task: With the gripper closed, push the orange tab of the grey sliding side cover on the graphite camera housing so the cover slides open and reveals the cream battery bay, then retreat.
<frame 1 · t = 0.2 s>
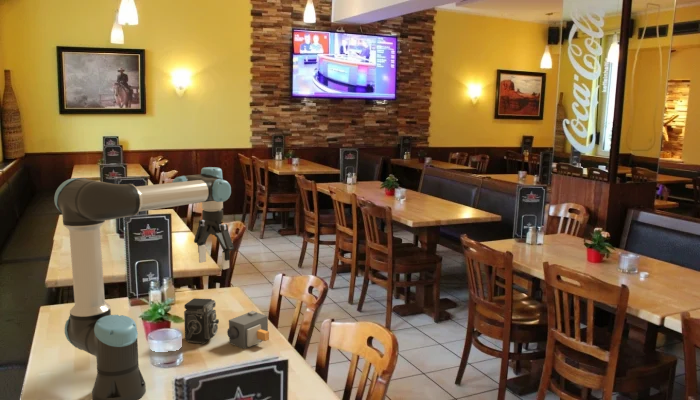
hand: (214, 265, 222), 28 cm above the table, fingers open, 13 cm apart
camera: (202, 340, 222), on the table
side door: (258, 336, 215), point 4 cm above the table, slide at 0.0 cm
housing: (248, 340, 222), on the table
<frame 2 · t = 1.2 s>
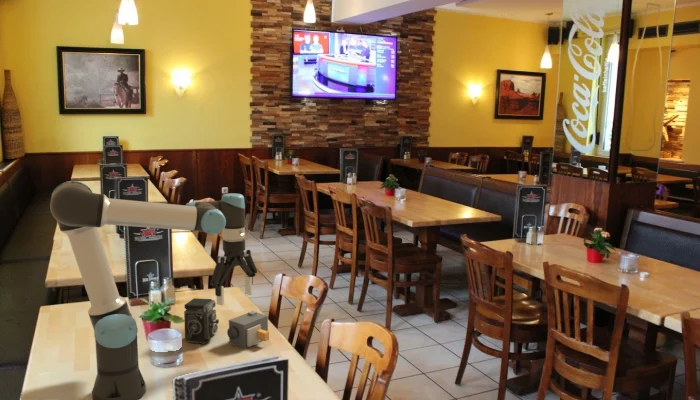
hand: (234, 299, 205), 21 cm above the table, fingers open, 13 cm apart
nothing on the table moved.
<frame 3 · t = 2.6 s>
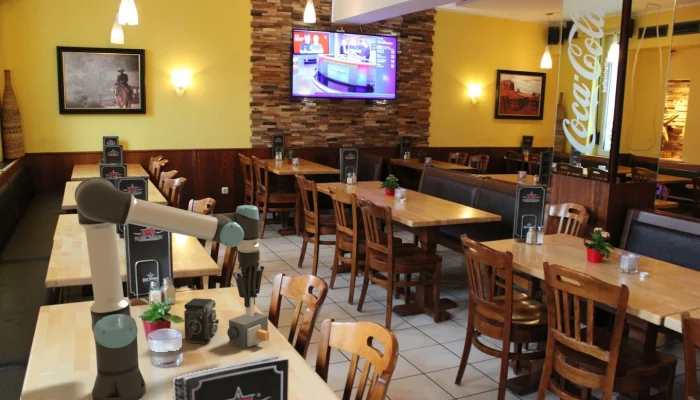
hand: (250, 315, 209), 14 cm above the table, fingers closed
nothing on the table moved.
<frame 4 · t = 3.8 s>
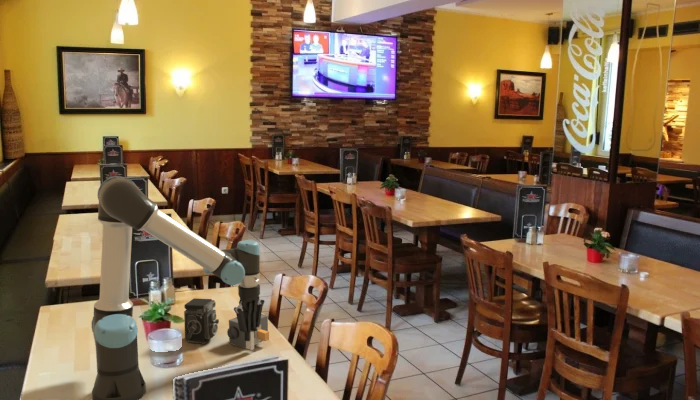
hand: (250, 348, 211), 1 cm above the table, fingers closed
nothing on the table moved.
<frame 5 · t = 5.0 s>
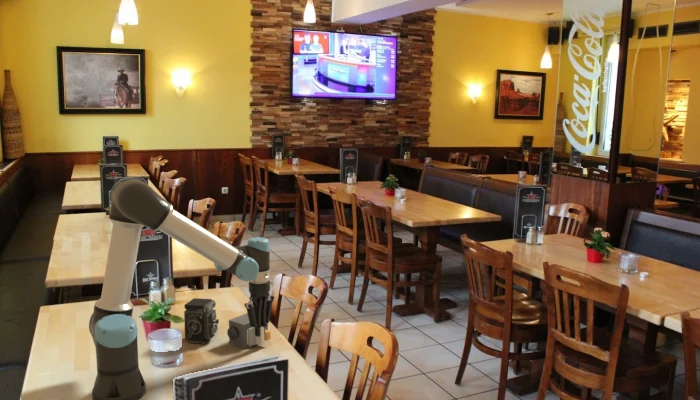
hand: (260, 343, 215), 2 cm above the table, fingers closed
side door: (259, 336, 216), point 4 cm above the table, slide at 0.7 cm, touching gripper
everything else where it was.
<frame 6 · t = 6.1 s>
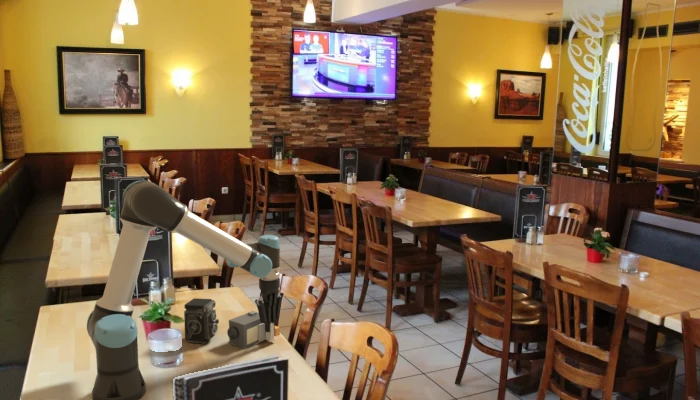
hand: (269, 339, 219), 2 cm above the table, fingers closed
side door: (268, 332, 220), point 4 cm above the table, slide at 5.7 cm, touching gripper
everything else where it was.
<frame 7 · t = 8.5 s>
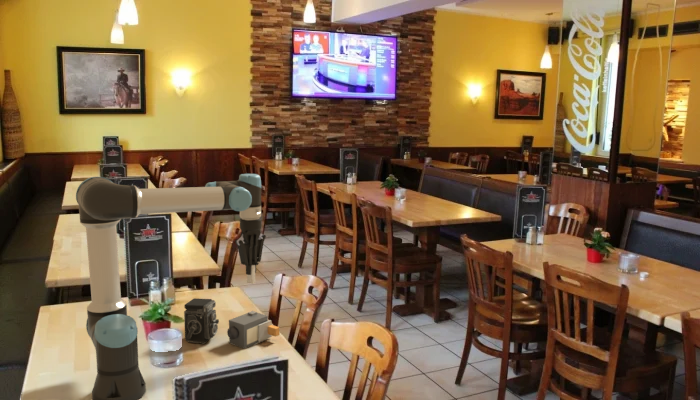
hand: (251, 282, 212), 24 cm above the table, fingers closed
side door: (268, 332, 220), point 4 cm above the table, slide at 5.5 cm
everything else where it was.
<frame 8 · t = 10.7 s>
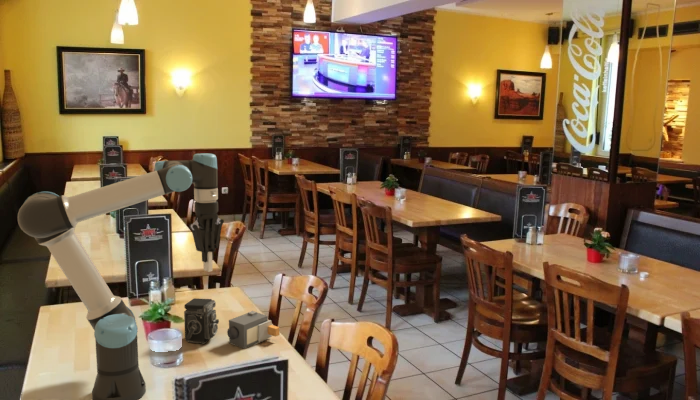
hand: (208, 270, 198), 32 cm above the table, fingers closed
nothing on the table moved.
at the end: side door slide at 5.5 cm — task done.
